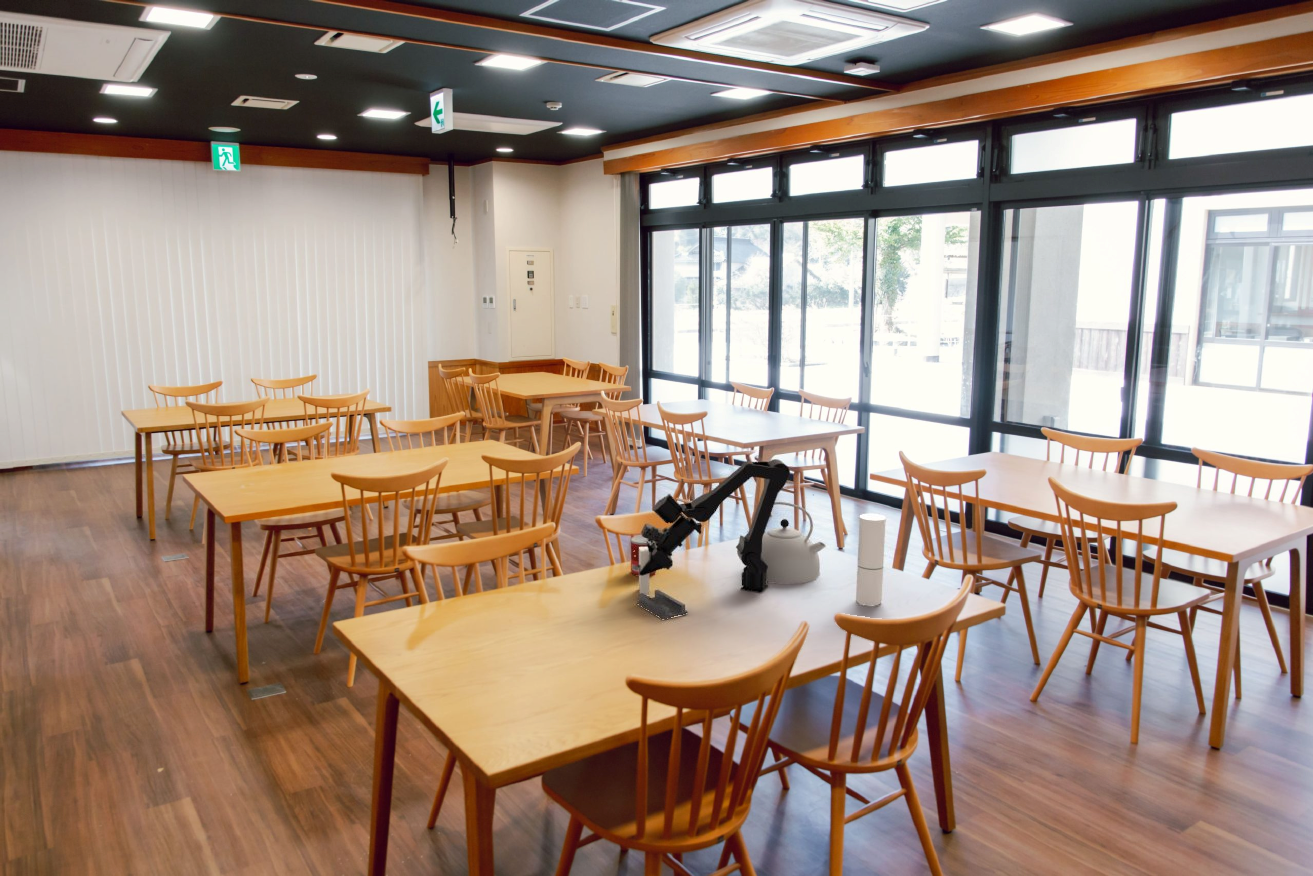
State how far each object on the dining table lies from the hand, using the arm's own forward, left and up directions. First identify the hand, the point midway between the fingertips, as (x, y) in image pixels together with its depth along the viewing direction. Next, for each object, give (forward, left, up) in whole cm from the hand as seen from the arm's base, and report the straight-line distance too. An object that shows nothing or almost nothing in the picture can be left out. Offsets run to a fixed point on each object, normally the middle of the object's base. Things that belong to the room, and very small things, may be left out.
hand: (639, 571), depth 262 cm
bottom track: (-12, +9, -7) cm, 16 cm away
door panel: (-1, -1, -7) cm, 7 cm away
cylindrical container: (-62, -22, -7) cm, 66 cm away
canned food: (+7, -16, -7) cm, 19 cm away
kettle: (-33, -37, -7) cm, 50 cm away
